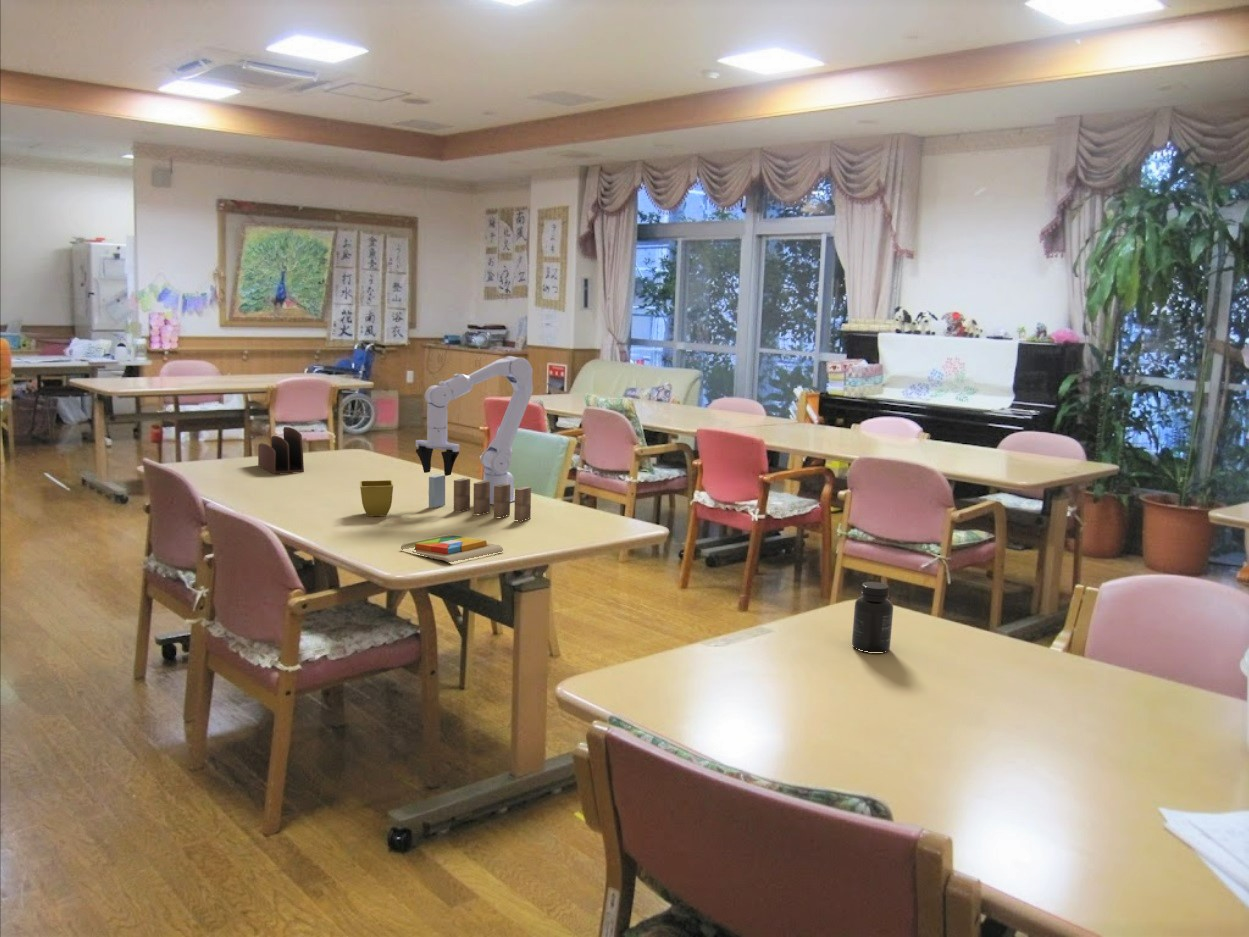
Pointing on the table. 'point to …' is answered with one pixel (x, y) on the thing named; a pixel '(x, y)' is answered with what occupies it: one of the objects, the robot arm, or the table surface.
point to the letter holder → (282, 453)
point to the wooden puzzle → (452, 547)
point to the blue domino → (436, 491)
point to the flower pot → (376, 497)
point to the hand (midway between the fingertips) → (437, 473)
